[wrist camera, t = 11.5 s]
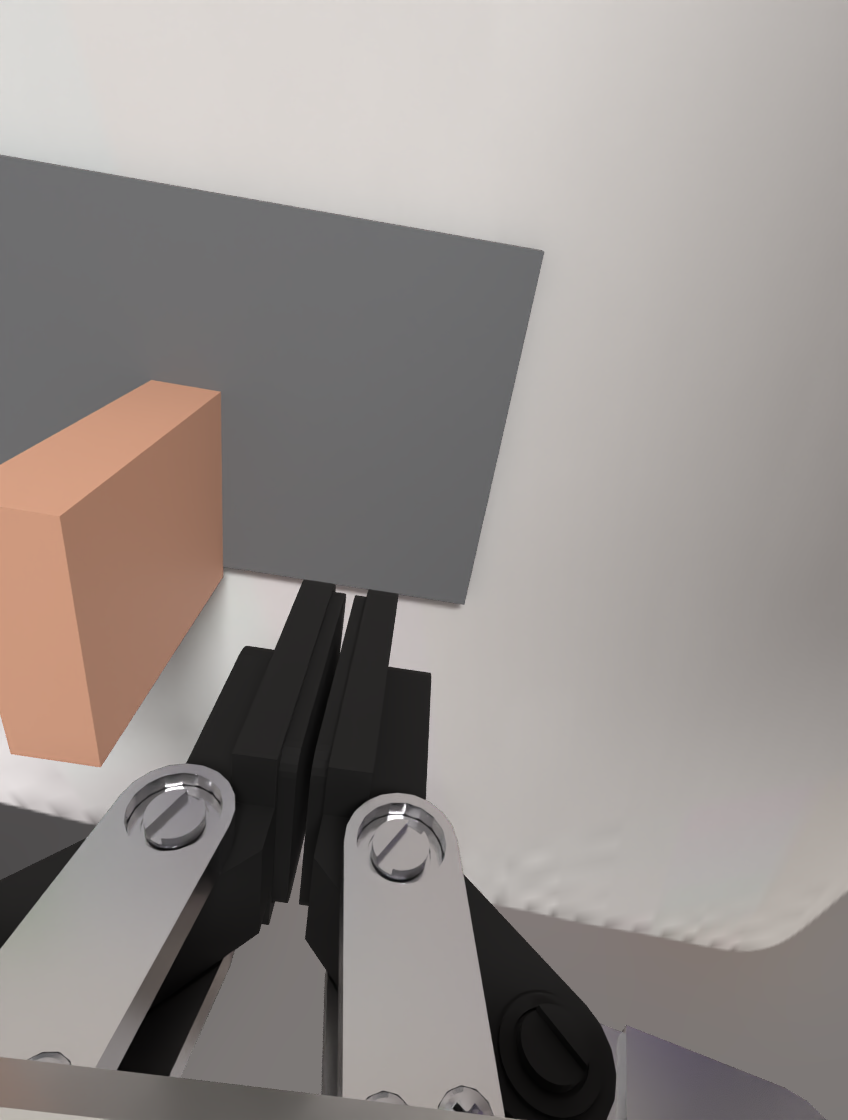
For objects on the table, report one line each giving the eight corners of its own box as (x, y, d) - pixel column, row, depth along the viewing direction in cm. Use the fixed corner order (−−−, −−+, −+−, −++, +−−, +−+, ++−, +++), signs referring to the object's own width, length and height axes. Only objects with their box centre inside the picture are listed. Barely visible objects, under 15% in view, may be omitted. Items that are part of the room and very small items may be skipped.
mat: (541, 250, 17) (544, 251, 17) (464, 595, 23) (464, 604, 23) (-172, 124, 17) (-192, 121, 16) (-63, 512, 23) (-75, 519, 22)
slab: (60, 516, 12) (100, 767, 15) (220, 391, 19) (223, 576, 23) (-58, 496, 12) (10, 753, 15) (151, 379, 19) (164, 566, 23)
